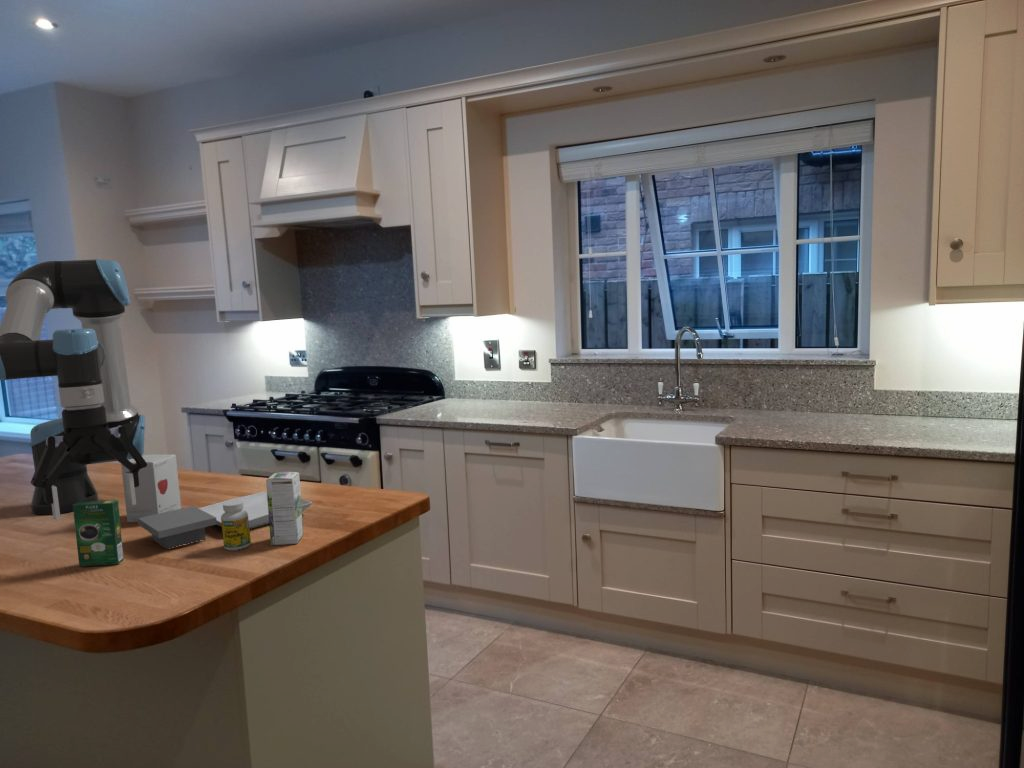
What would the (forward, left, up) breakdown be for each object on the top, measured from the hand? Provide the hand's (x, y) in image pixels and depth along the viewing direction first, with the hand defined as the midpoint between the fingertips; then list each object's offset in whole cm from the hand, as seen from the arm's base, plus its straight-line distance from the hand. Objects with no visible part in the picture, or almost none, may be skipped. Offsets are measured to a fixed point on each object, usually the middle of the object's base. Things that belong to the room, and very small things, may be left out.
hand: (95, 511), depth 148 cm
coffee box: (0, 0, -11) cm, 11 cm away
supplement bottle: (+12, +23, -11) cm, 28 cm away
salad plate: (-6, +34, -12) cm, 37 cm away
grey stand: (-3, +16, -11) cm, 20 cm away
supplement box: (-26, +18, -11) cm, 34 cm away
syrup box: (+17, +32, -11) cm, 38 cm away
